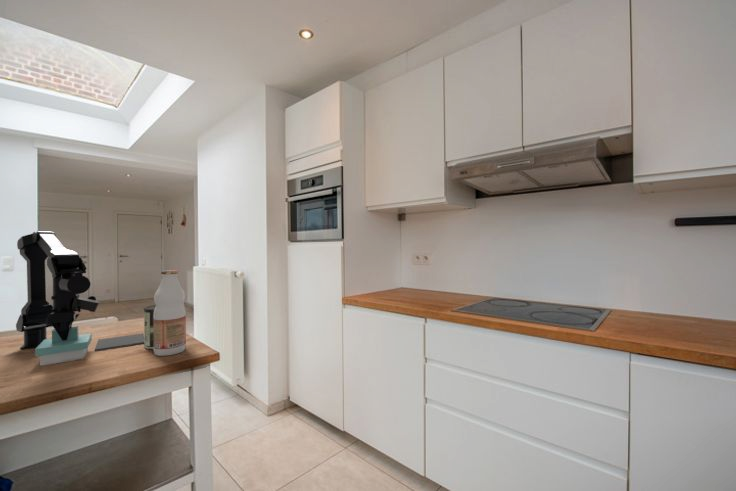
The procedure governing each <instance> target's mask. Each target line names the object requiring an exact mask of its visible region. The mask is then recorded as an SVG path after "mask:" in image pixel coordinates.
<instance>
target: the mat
mask: <svg viewBox="0 0 736 491" xmlns="http://www.w3.org/2000/svg"><path fill="white" fill-rule="evenodd" d="M143 344H144V332H143V333H135V334H128V335H122V336H114V337H108V338H102V339H101V338H99V339H98V340H97V342H96V345H95V347H94V352H99V351H106V350H112V349H118V348H125V347H131V346H137V345H143Z"/></svg>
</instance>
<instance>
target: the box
mask: <svg viewBox="0 0 736 491" xmlns="http://www.w3.org/2000/svg"><path fill="white" fill-rule="evenodd" d="M88 351H89V348H88V349H82V350H75V351H68V352H62V353H55V354H48V355H42V356H39V359H40V360H39V362H40V363H39V365H40V366H46V365H47V366H49V365H53V364H59V363H65V362H71V361H76V360H77V361H78V360H84V359H85V358H86V355H87V354H88Z"/></svg>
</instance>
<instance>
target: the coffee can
mask: <svg viewBox="0 0 736 491" xmlns="http://www.w3.org/2000/svg"><path fill="white" fill-rule="evenodd" d="M155 307H156V304H154V305H148V306H146V307H143V311H144V313H143V316H144V318H143V320H144V324H143V325H144V326H143V327H144V328H143V329H144V331H143V334H144V345H143V346H144V349H147V350H154V319H153V316H154V309H155Z"/></svg>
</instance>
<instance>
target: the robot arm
mask: <svg viewBox="0 0 736 491" xmlns="http://www.w3.org/2000/svg"><path fill="white" fill-rule="evenodd" d="M16 244H17V245H16V246H17V249H18V250H19V255H20V256H21V257H22V258H23V259H24V260H25V261H26V284H27V285H26V286H27V287H26V288H27V302H26V303H25V304H24V306H22V308H21V310H20V315H19V316H18V318H17V321H16V323H15V329H16V331H17V332H18V333H19V332H20V333H23V344H22V346H20V350H24V349H30V348H37V347H38V346H39V345H40V344H41V342H42V341H43V340H44V339H48V337H47V328H50V327H51V328H52V327H53V329H55V330H56V332H57V333H58V335H59V336H60V338H61V339H62V340H67V338H68V334H69V329H70V327H73V323H74V322H75V321H76V320H77V318H78V317H80V313H81V312H83V310H84V311H89V312H92V313H94V312H96V311H97V309H98V307H99V304H100V300H98V299H97V297H96V296H95V295H89V296H88V297H87V298H86V297H80V294H84V293H86V292H87V291H89V289H90V287H91V281H90V279H89V278H88V277H87V276H85V275H84V274H87V266H86V264H85V262H84V261H83V259H82V257H81V256H80V255H79V254H78V252H76V251H74V250H71V249H67V247H65V246H64V245H63V244H62V242H61V241H60V240H59V239H58V238H57V236H56V233H55V232H54V231H49V230H47V231H46V230H45V231H44V230H43V231H41V230H40V231H39V230H38V231H37V230H36V231H34V232H32V233H29V234H25V235H22V236H20V238H18V240H17V242H16ZM46 266H47V268H48V270H49V272H50V273H51V276H52V295H51V297H50V298H51V301H52V304H50V303H49V301H47V292H46V289H47V288H46ZM76 312H78V313H76Z"/></svg>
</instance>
